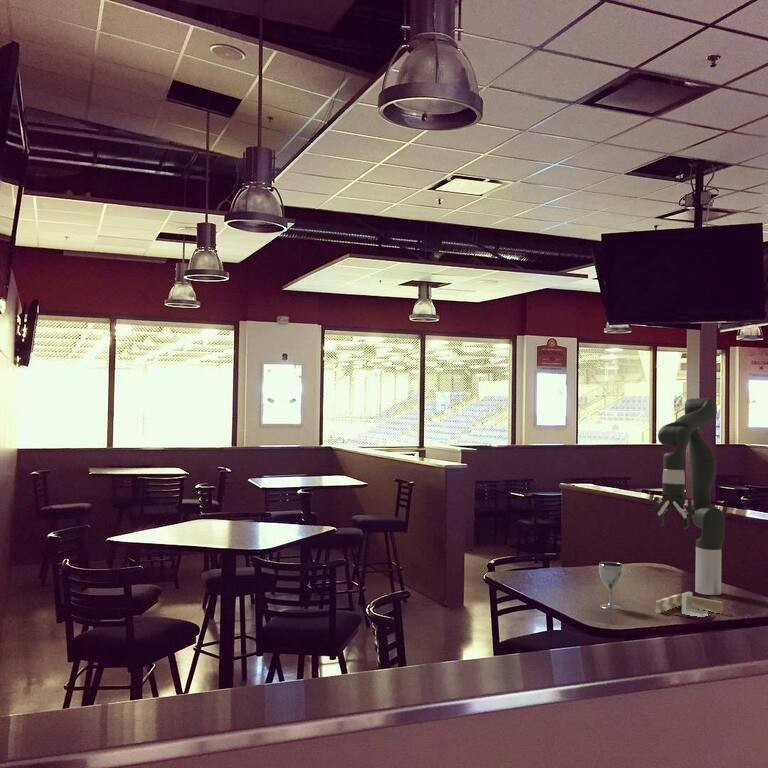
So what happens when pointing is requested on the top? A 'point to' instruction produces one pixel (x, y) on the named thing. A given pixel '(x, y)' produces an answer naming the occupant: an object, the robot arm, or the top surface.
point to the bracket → (688, 608)
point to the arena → (696, 604)
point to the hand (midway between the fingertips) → (673, 527)
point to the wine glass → (610, 579)
